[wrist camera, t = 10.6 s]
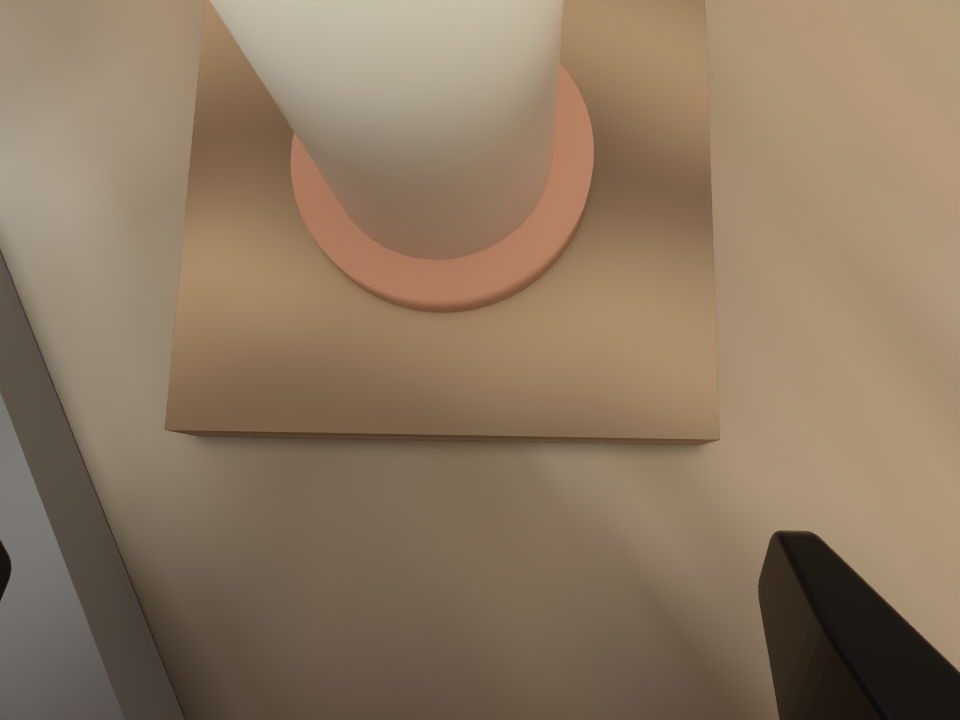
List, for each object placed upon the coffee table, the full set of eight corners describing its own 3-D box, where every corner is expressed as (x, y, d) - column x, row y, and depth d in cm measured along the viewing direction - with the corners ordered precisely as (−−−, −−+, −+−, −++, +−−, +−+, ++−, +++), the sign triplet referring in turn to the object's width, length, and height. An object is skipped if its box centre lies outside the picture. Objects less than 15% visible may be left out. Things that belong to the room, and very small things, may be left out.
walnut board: (701, 444, 16) (719, 439, 15) (196, 435, 17) (164, 430, 15) (687, -19, 18) (702, -65, 17) (235, -12, 19) (210, -56, 17)
